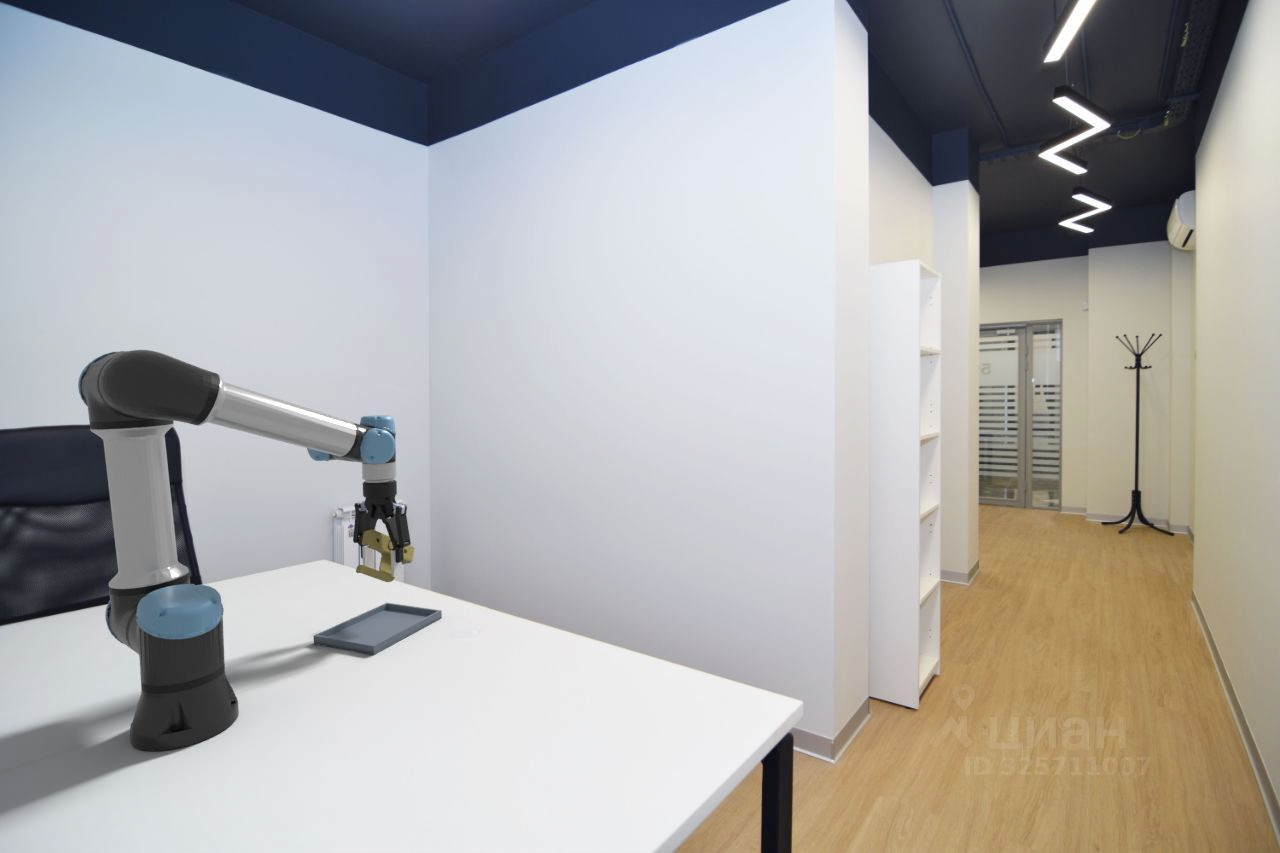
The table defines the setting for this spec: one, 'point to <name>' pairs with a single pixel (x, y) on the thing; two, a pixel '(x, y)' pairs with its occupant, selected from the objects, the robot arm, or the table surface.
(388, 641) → the tray
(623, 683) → the table surface
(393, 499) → the robot arm
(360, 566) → the bracket
